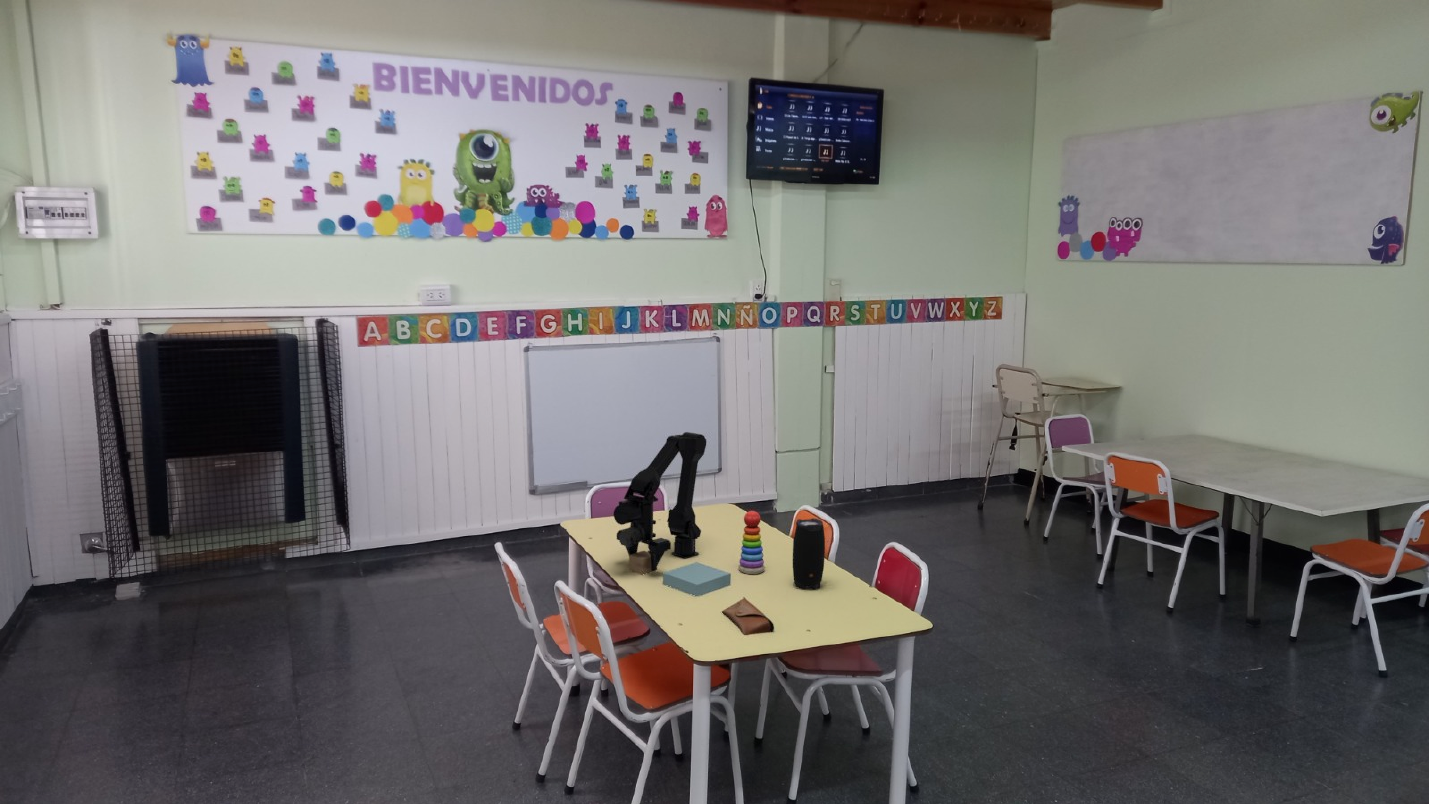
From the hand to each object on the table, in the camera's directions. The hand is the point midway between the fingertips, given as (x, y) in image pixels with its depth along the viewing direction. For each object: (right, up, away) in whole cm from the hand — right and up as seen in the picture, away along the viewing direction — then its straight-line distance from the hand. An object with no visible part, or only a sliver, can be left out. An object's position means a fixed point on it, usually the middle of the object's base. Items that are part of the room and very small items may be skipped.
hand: (643, 567), depth 289 cm
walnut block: (0, -1, 0) cm, 1 cm away
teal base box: (+17, -4, -11) cm, 20 cm away
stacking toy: (+33, -2, +2) cm, 33 cm away
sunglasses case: (+30, -8, -38) cm, 49 cm away
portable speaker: (+49, -4, -10) cm, 50 cm away
